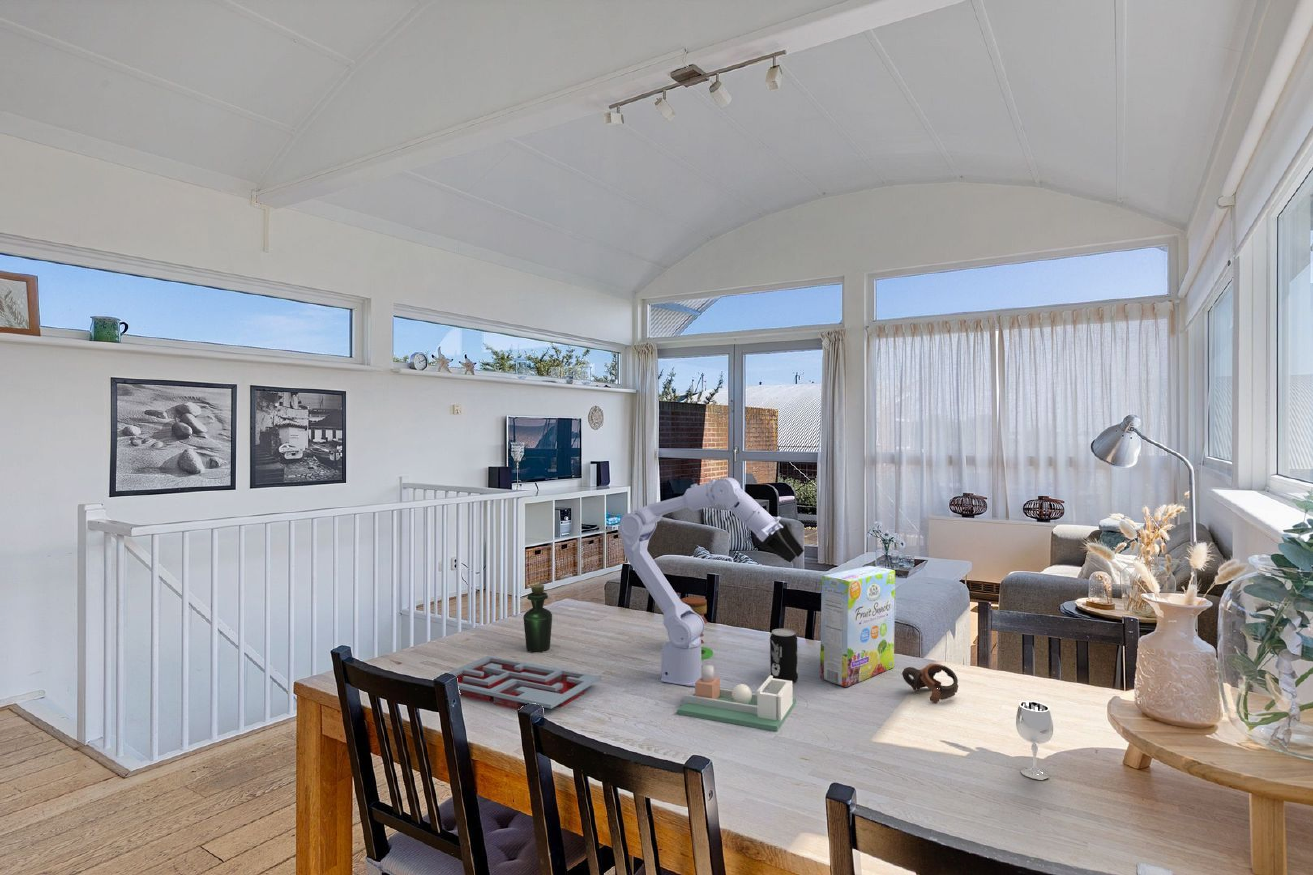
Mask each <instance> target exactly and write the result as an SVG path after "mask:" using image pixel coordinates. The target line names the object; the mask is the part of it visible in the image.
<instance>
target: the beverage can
mask: <svg viewBox="0 0 1313 875" xmlns="http://www.w3.org/2000/svg"><path fill="white" fill-rule="evenodd" d="M769 645H770V646H769V652H770V654H769V659H770V660H769V662H770V666H769V667H770V670H769V671H770V674H769V676H770V675H772V676H773V678H774V679H781V680H788V681H792V685H793V684H795V683H796V682H797V680H798V679H799V678H798V677H799V676H798V675H799V674H798V672H799V670H798V664H799V663H798V662H799V661H798V660H799V659H798V657H799V656H798V637H797V635H796V631H795V630H793V629H791V628H790V629H789V628H775V629H772V630H771V635H770V638H769Z"/></svg>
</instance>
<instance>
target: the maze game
mask: <svg viewBox="0 0 1313 875" xmlns="http://www.w3.org/2000/svg"><path fill="white" fill-rule="evenodd" d="M447 673H450V674H453V675H454V676H457V678H458V686H459V690H460V693H461V695H460V696H463V697H468V698H471V699H472V698H473V699H477V700H481V701H486V702H491V701H493V705H497V706H502V707H505V708H511V709H515V710H518V708H519V709H520V708H522V707H524V706H526V705H525V704H527V703H536V704H539V705H541V706H543V707H542V708H546V709H551V710H552V709H553V708H555V707H564V706H566V705H567V704H569V703H571V702H573V701H574V700H576V699H578V698H579V697H581V696H582V695H584V694H585V690H586V689H587V688H589V687H590V686H592V685H594V684H596V683H598V682H599V681H600V680H601V675H600V676H599V675H594V674H590V673H583V672H578V671H573V670H568V669H563V668H562V669H561V668H556V667H550V666H545V665H539V664H535V663H529V662H523V661H518V660H512V659H507V658H501V657H497V656H492V655H491V656H490V655H486V656H484V657H482V658H479V659H477V660H474V661H472V662H470V663H468V664H465V665H463V666H460V667H457V668H455V669H453V670H451V671H449V672H447ZM437 677H438V676H437ZM437 677H434V678H433V679H435V678H437ZM523 705H524V706H523ZM521 706H522V707H521ZM541 706H540V707H541Z"/></svg>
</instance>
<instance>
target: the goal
mask: <svg viewBox="0 0 1313 875" xmlns="http://www.w3.org/2000/svg"><path fill="white" fill-rule="evenodd" d="M767 686H768V692H763V691H764V690H765V688H766V687H767ZM756 693H757V715H758V717H760V718H766V719H772V720H778V721H781V720H782V719H783V717H784V716H785V714H786V713H787V711H788V710H789V708H790V707H791V705H792V704H793V699H794V698H793V684H792V681H788V680H781V679H774V678H773V676H772V675H770V674H769V676H768V677H767V679H766V680H765V681H764V682H763V683H762V684H761V685H760V686H759V687H758V689H757V690H756Z"/></svg>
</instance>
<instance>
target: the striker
mask: <svg viewBox="0 0 1313 875" xmlns="http://www.w3.org/2000/svg"><path fill="white" fill-rule="evenodd" d="M720 679H721V678H720V677H717V676H715V667H714V665H711V664H703V665H702V664H701V678H700V679H699V680H698V681H696V682H695V687H694V689H695V690H694V694H695V696H699V697H706V698H712V699H717V698H718V697H719V696H720V687H721V680H720Z"/></svg>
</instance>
